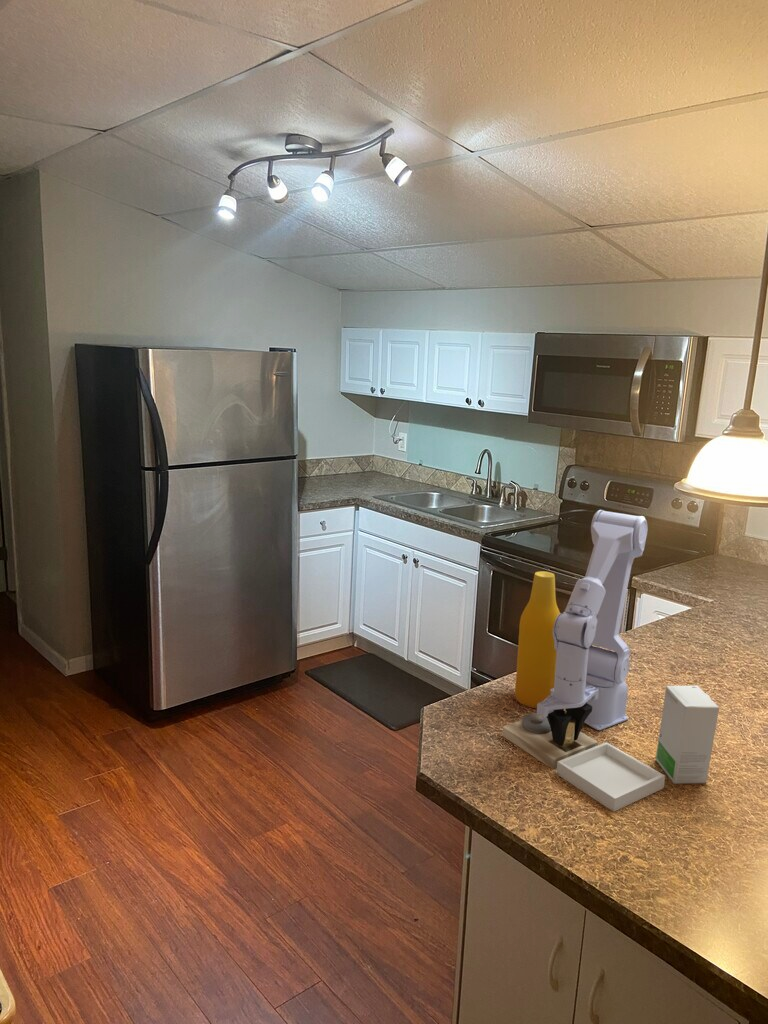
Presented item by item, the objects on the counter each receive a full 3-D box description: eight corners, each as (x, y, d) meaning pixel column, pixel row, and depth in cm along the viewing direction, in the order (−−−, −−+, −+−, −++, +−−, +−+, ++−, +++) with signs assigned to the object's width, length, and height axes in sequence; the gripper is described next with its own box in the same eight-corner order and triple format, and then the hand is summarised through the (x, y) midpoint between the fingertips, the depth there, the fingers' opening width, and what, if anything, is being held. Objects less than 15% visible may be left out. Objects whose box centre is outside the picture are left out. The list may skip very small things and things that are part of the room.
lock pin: (563, 746, 146) (566, 714, 144) (576, 754, 143) (579, 721, 141) (552, 751, 144) (554, 718, 142) (564, 759, 141) (567, 725, 140)
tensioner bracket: (545, 720, 156) (546, 702, 155) (597, 751, 144) (599, 732, 143) (502, 735, 149) (503, 717, 148) (553, 769, 138) (554, 749, 137)
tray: (605, 753, 143) (606, 742, 143) (663, 788, 133) (665, 775, 132) (556, 773, 136) (557, 761, 136) (613, 811, 125) (615, 798, 125)
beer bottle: (529, 712, 159) (538, 582, 152) (506, 693, 167) (514, 570, 161) (565, 705, 162) (576, 578, 156) (541, 687, 171) (550, 566, 164)
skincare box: (654, 759, 142) (663, 684, 138) (688, 759, 142) (697, 683, 139) (674, 785, 134) (684, 705, 130) (710, 784, 134) (720, 705, 130)
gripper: (581, 659, 147) (575, 721, 150) (527, 675, 139) (522, 741, 142) (609, 672, 141) (603, 737, 144) (554, 690, 133) (549, 758, 136)
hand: (565, 740), depth 143 cm, fingers closed on lock pin, 3 cm apart
